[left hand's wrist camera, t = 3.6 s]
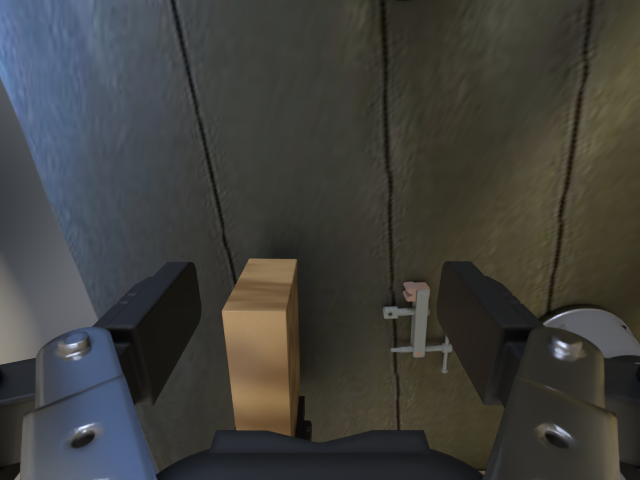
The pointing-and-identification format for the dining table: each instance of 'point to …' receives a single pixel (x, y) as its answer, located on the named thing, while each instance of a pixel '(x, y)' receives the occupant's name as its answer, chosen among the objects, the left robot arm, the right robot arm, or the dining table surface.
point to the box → (264, 346)
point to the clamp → (417, 321)
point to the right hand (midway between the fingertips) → (278, 403)
